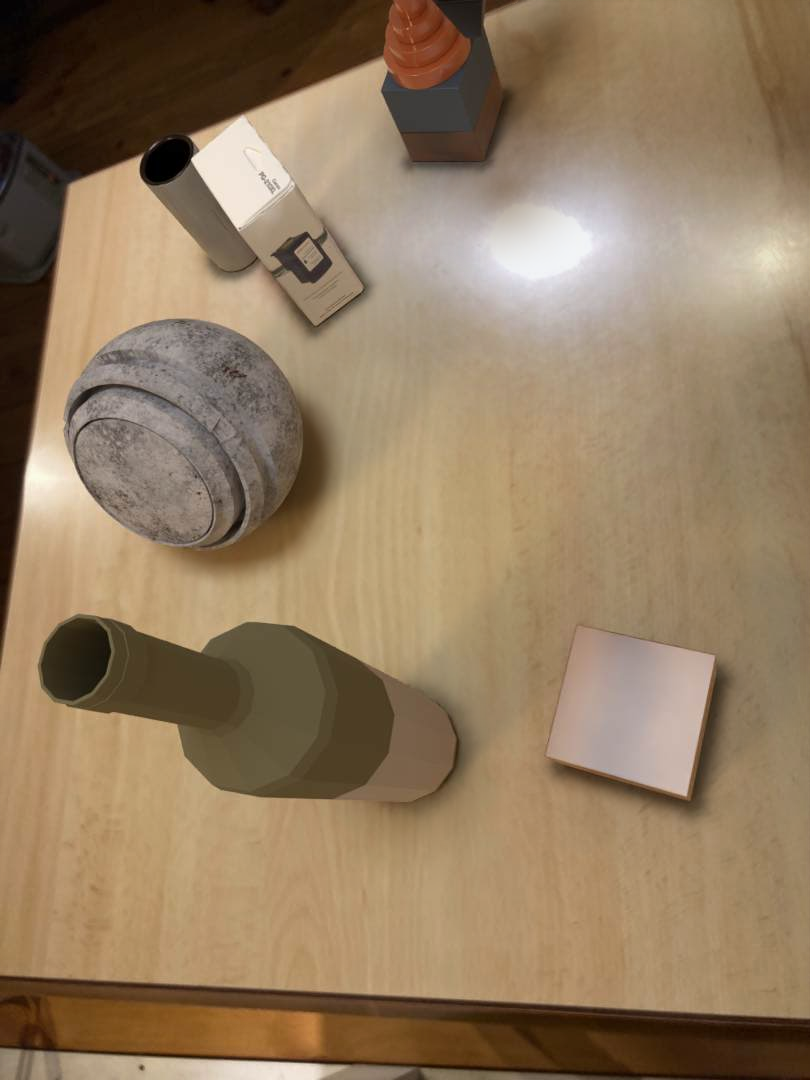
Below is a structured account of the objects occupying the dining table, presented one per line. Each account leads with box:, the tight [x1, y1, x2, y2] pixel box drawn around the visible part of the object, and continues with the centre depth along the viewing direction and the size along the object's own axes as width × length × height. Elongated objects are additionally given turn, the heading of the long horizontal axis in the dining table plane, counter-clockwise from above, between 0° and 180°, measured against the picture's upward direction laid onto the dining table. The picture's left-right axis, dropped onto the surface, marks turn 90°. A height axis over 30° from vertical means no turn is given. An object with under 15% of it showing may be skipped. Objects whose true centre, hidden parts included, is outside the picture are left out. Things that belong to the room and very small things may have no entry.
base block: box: [399, 64, 505, 162], centre depth 63 cm, size 6×6×3 cm
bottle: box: [37, 613, 458, 803], centre depth 37 cm, size 7×7×30 cm
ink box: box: [191, 114, 364, 327], centre depth 60 cm, size 8×5×12 cm, turn 31°
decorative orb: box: [62, 318, 304, 552], centre depth 54 cm, size 15×14×15 cm
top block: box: [380, 27, 496, 133], centre depth 60 cm, size 6×6×4 cm
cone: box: [383, 0, 471, 90], centre depth 56 cm, size 6×6×5 cm
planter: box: [138, 132, 258, 272], centre depth 64 cm, size 4×4×10 cm
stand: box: [544, 624, 717, 802], centre depth 44 cm, size 7×7×6 cm
